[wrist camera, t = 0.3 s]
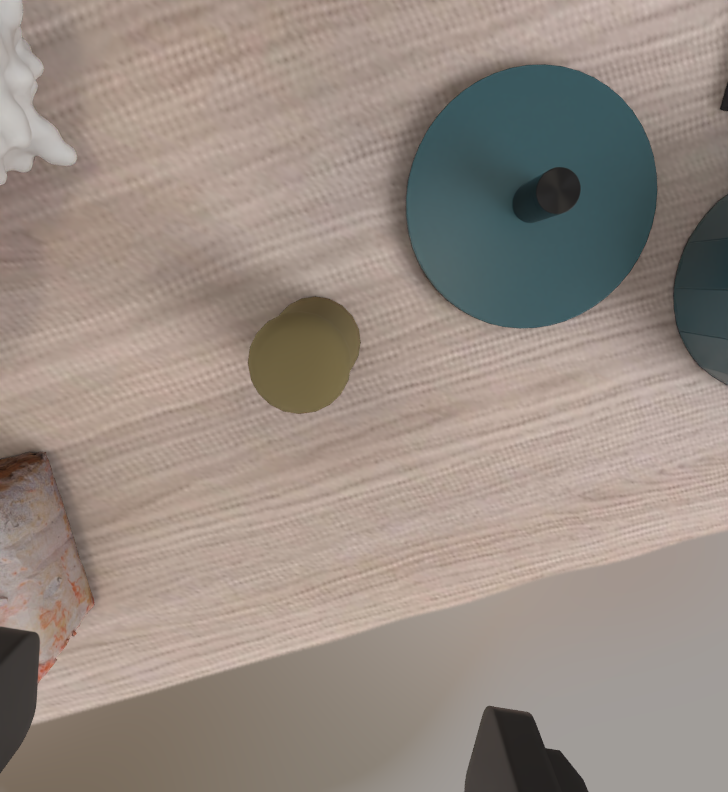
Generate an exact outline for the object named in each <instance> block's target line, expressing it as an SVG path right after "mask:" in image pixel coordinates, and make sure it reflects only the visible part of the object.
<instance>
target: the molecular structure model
mask: <svg viewBox="0 0 728 792" xmlns="http://www.w3.org/2000/svg"><path fill="white" fill-rule="evenodd" d="M22 17H23V3H22V0H0V185H2V184H5V182H6V179H7V173H6V172H7V171H12V170H15V171H18V172H23V173H25V172H28V171H30V170H31V168H32V166H33V160H34V157H35V156H40V157H41V158H43V159H44V160H45V161H47V162H49V163H50V164H53V165H61V166H71V165H73V164H75V162H76V160H77V154H76V151H75V150H74V148H73V147H71V146H70V145H69V144H67V143H66V142H64V140H63V139H62V137H61V135H60V133H59V131H58V130H57V128H56V127H55V126H54V125H53V124H52V123H51V122H49V121H48V120H47V119H45V118H44V117H42V116H41V115H40V114H38V112H37V111H36V109H35V108H34V106H33V97H34V95H35V94H36V91H37V88H38V86H37V82H36V79H37V78H38V77H40V76H41V75H42V73H43V71H44V68H43V64H42V62H41V60H40V59H39V58H38V57H37V56H35V55H34V54H33V53H32V50H31V47H30V45H29V43H28V42H27V41H26V40H24V39H23V38H22V30H21V27H20V25H21V22H22Z"/></svg>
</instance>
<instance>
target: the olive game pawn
mask: <svg viewBox="0 0 728 792" xmlns="http://www.w3.org/2000/svg"><path fill="white" fill-rule="evenodd" d="M360 343H361V342H360V335H359V329H358V327H357V325H356V323H355V321H354V319H353V317H352V315H351V314H350V313H349V312H348V311H347V310H346V309H345V308H344V307H343V306H342V305H340V304H338V303H336V302H334V301H332V300H330V299H326V298H320V297H310V298H303V299H300V300H298V301H296V302H294V303H292V304H290V305H289V306H288V307H287V308H286V309H285V310H284V311H283V312H282V313H281V314H280V315H279V316H278V317H276V318H274V319H272V320H270V321H268V322H267V323H266V324H265V325H264V326H263V327H262V328H261V329H260V330H259V331H258V332H257V334H256V336H255V338H254V340H253V342H252V344H251V346H250V351H249V359H248V366H249V371H250V376H251V380H252V382H253V384H254V386H255V388H256V390H257V391H258V393H259V394H260V395H261V396H262V397H263V398H264V399H265V400H266V401H267V402H268V403H269V404H270V405H272V406H274V407H276V408H278V409H280V410H282V411H285V412H291V413H297V414H302V413H309V412H316V411H318V410H320V409H322V408H324V407H326V406H328V405H330V404H331V403H332V402H333V401H334V400H335V399H336V398H337V397H338V396H339V395H340V394H341V393H342V391H343V389H344V387H345V385H346V384H347V382H348V379H349V373H350V370H351V369H352V367H353V365H354V363H355V361H356V360H357V358H358V355H359V349H360Z"/></svg>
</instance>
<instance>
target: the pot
mask: <svg viewBox="0 0 728 792" xmlns="http://www.w3.org/2000/svg"><path fill="white" fill-rule="evenodd" d="M674 312H675V317H676V323H677V326H678V329H679V333H680V336H681V338H682V340H683V342H684V344H685V346H686V348H687V350H688V351H689V353H690V354H691V355H692V357H693V358H694V360H695V361H696V362H697V363H698V365H699V366H700V367H701V368H703V369H704V370H705V371H706V372H708V373H709V374H710V375H712V376H713V377H714V378H716V379H718V380H720V381H721V382H723V383H725V384H726V385H728V195H726V196H725V197H724V198H722V199H721V200H720V201H719V202H718V203H717V204H716V205H715V206H714V207H713V208H712V209H711V210H710V211H709V212H708V213H707V214H706V216H705V217H704V218H703V219H702V221H701V222H700V223H699V224H698V226H697V228H696V229H695V231H694V232H693V234H692V235H691V237H690V239H689V241H688V243H687V245H686V247H685V249H684V251H683V254H682V257H681V259H680V262H679V265H678V269H677V274H676V278H675V286H674Z"/></svg>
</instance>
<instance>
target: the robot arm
mask: <svg viewBox="0 0 728 792" xmlns="http://www.w3.org/2000/svg"><path fill="white" fill-rule="evenodd" d="M39 651H40V638H39V635H38V633H36V632H32V631H26V630H20V629H13V628H7V627H1V626H0V773H1V771H2V770H3V769H4V767H5V766H6V765H7V763H8V762H9V760H10V759H11V758H12V756H13V755H14V754H15V752H16V751H17V750H18V748H19V747H20V745H21V743H22V742H23V740H24V738H25V736H26V734H27V732H28V730H29V728H30V725H31V723H32V720H33V717H34V713H35V709H36V700H37V684H38V668H39ZM465 792H588V790H587V787H586V785H585V783H584V780H583V779H582V778H581V776H580V775H579V774H578V773H577V771H576V770H575V769H574V768H573V766H572V765H571V764H570V763H569V762H568V760H567V759H566V758H565V757H564V755H563V754H562V753H561V751H559V750H553V749H547V748H545V747H544V744H543V741H542V738H541V736H540V733H539V731H538V728H537V725H536V723H535V720H534V718H533V716H532V715H531V714H530V713H528V712H524V711H518V710H511V709H505V708H499V707H493V706H488V707H486V709H485V710H484V713H483V716H482V719H481V723H480V726H479V730H478V734H477V737H476V741H475V745H474V748H473V752H472V755H471V759H470V762H469V766H468V770H467V774H466V780H465Z"/></svg>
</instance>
